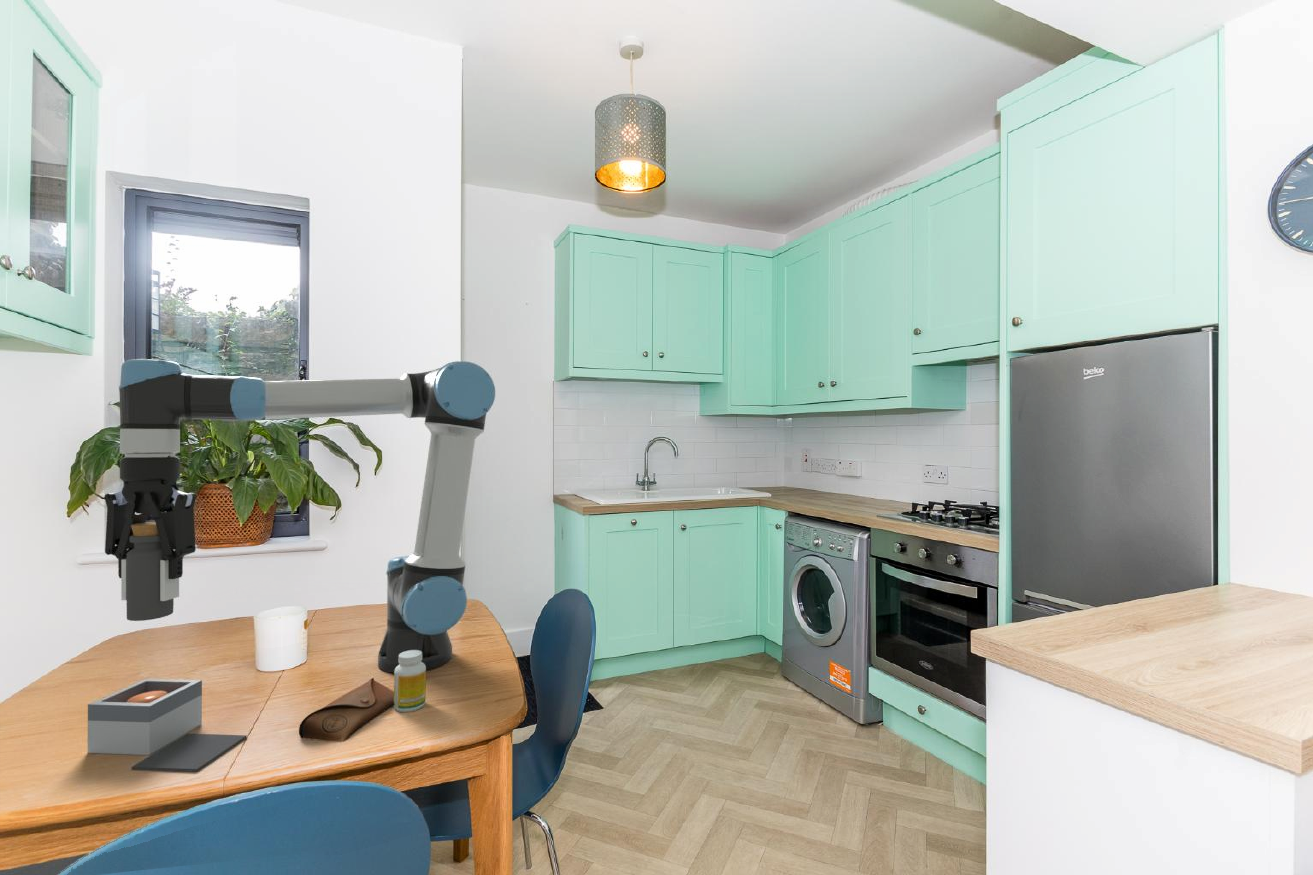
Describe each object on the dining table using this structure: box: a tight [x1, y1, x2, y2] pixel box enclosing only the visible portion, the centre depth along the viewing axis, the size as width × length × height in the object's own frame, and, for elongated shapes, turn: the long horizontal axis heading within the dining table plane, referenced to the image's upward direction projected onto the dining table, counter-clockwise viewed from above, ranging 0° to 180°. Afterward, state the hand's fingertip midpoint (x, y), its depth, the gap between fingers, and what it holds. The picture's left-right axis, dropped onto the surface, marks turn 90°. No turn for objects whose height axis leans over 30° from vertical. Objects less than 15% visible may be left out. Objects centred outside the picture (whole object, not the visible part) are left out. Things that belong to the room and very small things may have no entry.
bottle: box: [126, 521, 175, 622], centre depth 98 cm, size 6×6×15 cm
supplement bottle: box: [393, 650, 427, 713], centre depth 110 cm, size 5×5×10 cm
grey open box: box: [87, 678, 203, 756], centre depth 98 cm, size 10×10×8 cm
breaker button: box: [127, 691, 167, 703], centre depth 98 cm, size 5×5×6 cm
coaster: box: [131, 733, 248, 773], centre depth 93 cm, size 10×10×1 cm
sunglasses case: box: [298, 677, 394, 743], centre depth 106 cm, size 18×7×7 cm
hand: (150, 598), depth 98 cm, fingers closed on bottle, 6 cm apart
